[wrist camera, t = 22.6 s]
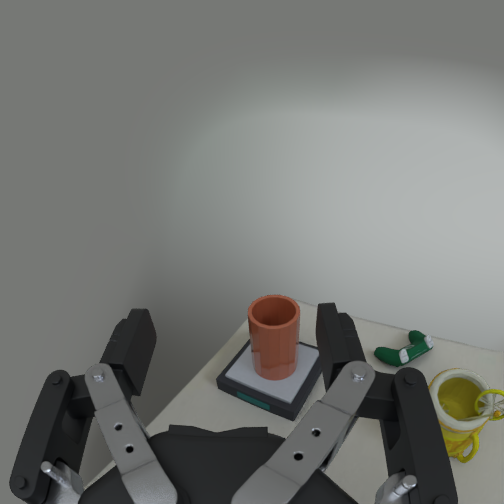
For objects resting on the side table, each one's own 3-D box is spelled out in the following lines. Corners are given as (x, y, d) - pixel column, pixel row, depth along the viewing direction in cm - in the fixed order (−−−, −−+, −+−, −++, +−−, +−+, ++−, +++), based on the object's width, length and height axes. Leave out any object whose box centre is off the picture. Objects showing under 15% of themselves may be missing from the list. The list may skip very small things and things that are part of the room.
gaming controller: (376, 371, 44) (399, 372, 39) (371, 349, 45) (393, 348, 40) (417, 349, 47) (440, 348, 41) (412, 329, 48) (435, 326, 42)
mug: (393, 409, 36) (420, 352, 30) (454, 389, 36) (486, 332, 30) (422, 486, 25) (468, 445, 19) (487, 454, 25) (535, 406, 19)
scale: (293, 422, 37) (293, 411, 35) (217, 389, 42) (214, 377, 41) (327, 360, 46) (329, 347, 44) (259, 337, 51) (258, 324, 50)
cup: (262, 386, 39) (258, 334, 34) (247, 355, 44) (241, 302, 39) (304, 371, 41) (308, 318, 36) (286, 342, 46) (286, 289, 41)
